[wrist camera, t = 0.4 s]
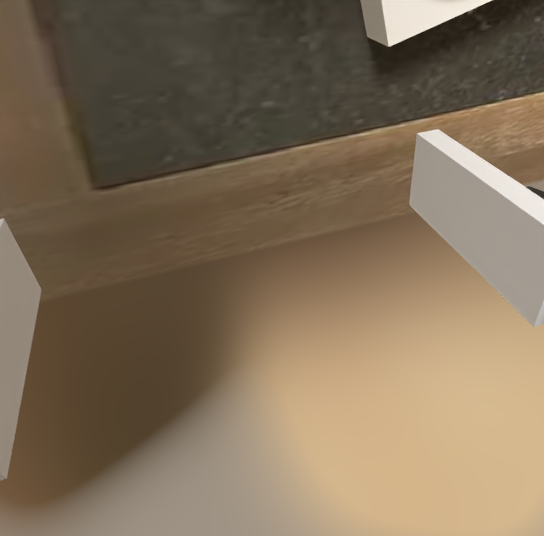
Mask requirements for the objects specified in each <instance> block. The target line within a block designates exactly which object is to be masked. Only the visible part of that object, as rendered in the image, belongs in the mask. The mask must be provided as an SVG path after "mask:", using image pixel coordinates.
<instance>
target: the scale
mask: <svg viewBox="0 0 544 536" xmlns="http://www.w3.org/2000/svg"><path fill="white" fill-rule="evenodd" d="M360 1H361V7H362V12H363V17H364V23H365V28H366V34H367V37H369V38H371V39H373V40H375V41H377V42H379V43H381V44H383V45H386V46H388V47H390V46H392V45H394V44H396V43H399V42H401V41H403V40H405V39H408V38H410V37H412V36H414V35H416V34H419V33H421V32H423V31H425V30H427V29H430V28H432V27H434V26H436V25H439V24H441V23H443V22H445V21H447V20H450V19H452V18H454V17H456V16H459V15H461V14H463V13H465V12H467V11H470V10H472V9H474V8H476V7H478V6H481V5H483V4H485V3H487V2H490V1H492V0H360Z"/></svg>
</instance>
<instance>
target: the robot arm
mask: <svg viewBox="0 0 544 536" xmlns="http://www.w3.org/2000/svg"><path fill="white" fill-rule="evenodd" d="M409 205H410V206H411V207H412V208H413V209H414V210H415V211H416V212H417V213H418V214H419V215H420V216H421V217H422V218H423V219H424V220H425V221H426V222H427V223H428V224H429V225H430V226H431V227H432V228H433V229H434V230H436V232H437V233H438V234H440V236H442V237H443V238H444V239H445V240H446V241H447V242H448V243H449V244H450V245H451V246H452V247H453V248H454V249H455V250H456V251H457V252H458V253H459V254H460V255H461V256H462V257H463V258H464V259H465V260H466V261H467V262H468V263H469V264H470V265H471V266H472V267H473V268H474V269H475V270H477V272H479V274H480V275H481V276H482V277H483V278H484V279H485V280H486V281H488V282H489V283H490V284H491V285H492V286H493V287H494V288H495V289H496V290H497V291H498V292H499V293H500V294H501V295H502V296H503V297H504V298H505V299H506V300H507V301H508V302H509V303H510V304H511V305H512V306H513V307H514V308H515V309H516V310H517V311H518V312H519V313H520V314H521V315H522V316H523V317H524V318H526V320H527V321H528V322H529V323H530V324H532V326H533V327H535V326H539V325H542V324H544V192H543V191H540V190H538V189H535V188H532V187H524V186H523V185H521V184H520V183H518V182H517V181H515V180H514V179H512V178H511V177H509V176H508V175H506V174H505V173H503V172H502V171H500V170H499V169H497V168H496V167H494V166H493V165H491V164H490V163H488V162H487V161H485V160H484V159H482V158H480V157H479V156H477V155H476V154H474V153H473V152H471V151H470V150H468V149H467V148H465V147H464V146H462V145H461V144H459V143H458V142H456V141H455V140H453V139H452V138H450V137H449V136H447V135H446V134H444V133H443V132H441V131H440V130H438V129H437V130H432V131H427V132H422V133H417V138H416V147H415V156H414V165H413V174H412V183H411V192H410V202H409ZM40 295H41V288H40V286H39V284H38V282H37V280H36V278H35V276H34V274H33V273H32V271H31V269H30V267H29V265H28V263H27V261H26V259H25V257H24V255H23V254H22V252H21V250H20V248H19V246H18V244H17V242H16V240H15V238H14V237H13V235H12V233H11V231H10V229H9V227H8V225H7V223H6V221H5V219H4V218H3V219H0V480H4V479H7V474H8V468H9V463H10V458H11V453H12V447H13V442H14V436H15V431H16V426H17V420H18V415H19V409H20V404H21V398H22V393H23V387H24V382H25V376H26V371H27V365H28V360H29V355H30V350H31V344H32V339H33V333H34V328H35V322H36V317H37V311H38V306H39V301H40Z"/></svg>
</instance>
